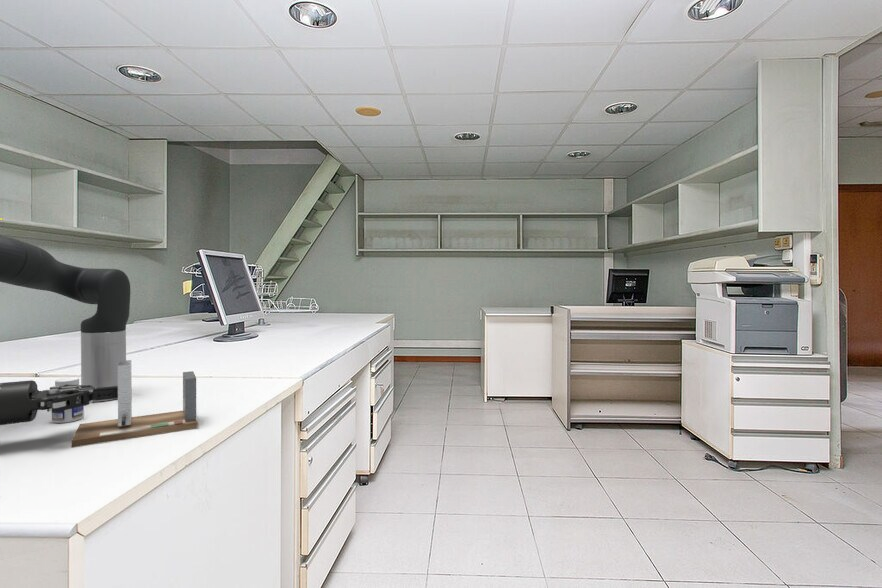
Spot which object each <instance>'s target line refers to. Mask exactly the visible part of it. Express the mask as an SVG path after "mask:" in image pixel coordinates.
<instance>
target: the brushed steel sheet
mask: <svg viewBox="0 0 882 588" xmlns="http://www.w3.org/2000/svg"><path fill="white" fill-rule="evenodd" d="M132 382H133V381H132V359H126V360H125V361H119V364H118V399H117V419H118V426H126V425H131V418H132V417H133V415H132V414H133V411H132V407H133V406H132V402H133V401H132V398H133V397H132V394H133V393H132V390H133V389H132V388H133V387H132Z"/></svg>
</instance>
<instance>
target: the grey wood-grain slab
mask: <svg viewBox="0 0 882 588" xmlns="http://www.w3.org/2000/svg"><path fill="white" fill-rule="evenodd" d="M182 411H183V414H184V419H185V422H190V421H197V377H196V374H195V373H194V371H183V372H182Z"/></svg>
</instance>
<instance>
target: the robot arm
mask: <svg viewBox="0 0 882 588" xmlns="http://www.w3.org/2000/svg"><path fill="white" fill-rule="evenodd" d="M0 283H3V284H7V285H13V286H16V287H17V286H18V287H20V288H21V287H22V288H28V289H31V290H33V289H34V290H38V291H39V290H40V291H47V292H51V293H55V294H58V295H61V296H64V297H67V298H68V299H72V300H74V301H77V302H80V303H82V304H83V303H84V304H88V305H97V307H96V312H95V313H94V314H93V315H92V316H90V317H88V318H85V319H84V320H82V321H81V323H80V377H81V378H80V384H79V385H68V384H67V385H63V387H62V386H55V385H53V386H50V387H49V389H43V390H39V389H38V383H37V381H34V380H32V379H30V380H19V381H8V382H0V426H6V425H14V424H21V423H22V424H23V423H29V422H33V421H34V420H36V417H37V414H38V411H45V410H46V412H49V413H50V412H51V413H52V412H55V413H57V412H60V411H64V410H68V409H72V408H76V407H80V406H87V405H90V404H92V403H95V402H105V401H112V400H116V399H117V400H118V364H119V361H125V360H127V330H126V329H127V323H128V321H129V317H130V310H131V309H130V306H131V283H130V280H129V277H128V275H127V274H126V273H125V272H124V271H123V270H120V269H116V268H85V267H79V266H77V265H76V266H74V265H70V264H67V263H64V262H62V261H59V260H57V258H55V256H53V255H52V254H51V253H49V252H48V251H47V250H45V249H44V248H41V247H39V246H37V245H35V244H31V243H29V242H25V241H21V240H20V239H19V240H18V239H16V238H12V237H8V236H6V235H1V234H0Z"/></svg>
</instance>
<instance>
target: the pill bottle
mask: <svg viewBox="0 0 882 588" xmlns="http://www.w3.org/2000/svg"><path fill="white" fill-rule="evenodd" d="M67 384H68V385H80V377H75V376H74V377H73V376H72V377H71V376H70V377H64V378H63V377H62V378H58V379H55V381H54V386H62V387H63V385H67ZM84 412H85V410H84V406H80V407H76V408H72V409H68V410H64V411H60V412H57V413H55V412H52V411H51V420H52V423H55V424H65V423H72V422H73V423H74V422H76V421H79V420H82V419H83V418H84V416H85V413H84Z"/></svg>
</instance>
